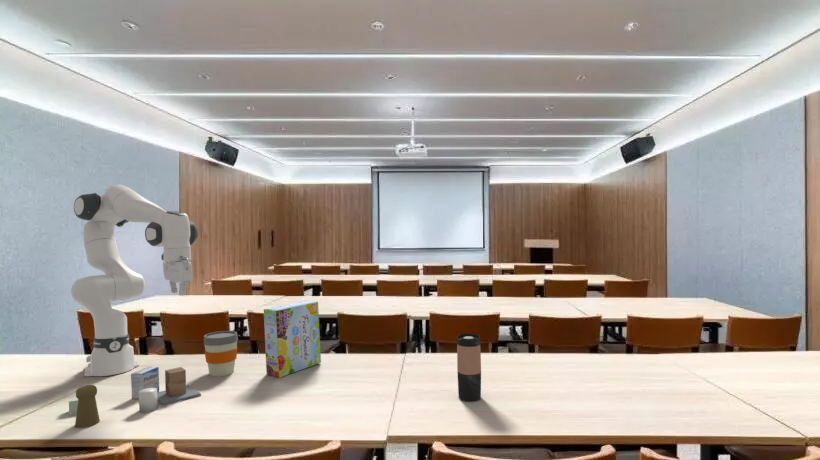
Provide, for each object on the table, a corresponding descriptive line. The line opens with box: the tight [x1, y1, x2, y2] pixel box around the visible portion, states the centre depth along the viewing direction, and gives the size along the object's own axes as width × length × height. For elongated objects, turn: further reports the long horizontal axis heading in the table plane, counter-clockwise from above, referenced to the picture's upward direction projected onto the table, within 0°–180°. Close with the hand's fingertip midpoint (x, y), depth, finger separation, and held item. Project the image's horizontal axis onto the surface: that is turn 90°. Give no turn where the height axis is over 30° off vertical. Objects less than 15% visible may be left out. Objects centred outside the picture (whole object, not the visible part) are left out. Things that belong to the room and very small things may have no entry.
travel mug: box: [456, 333, 482, 403], centre depth 152 cm, size 8×8×20 cm
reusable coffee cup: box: [203, 330, 239, 377], centre depth 184 cm, size 13×13×15 cm
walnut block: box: [164, 366, 187, 397], centre depth 159 cm, size 5×5×8 cm
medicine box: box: [130, 366, 160, 400], centre depth 161 cm, size 8×4×9 cm, turn 169°
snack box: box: [263, 300, 322, 379], centre depth 186 cm, size 22×9×26 cm, turn 144°
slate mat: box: [157, 384, 202, 406], centre depth 159 cm, size 12×12×1 cm
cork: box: [74, 384, 101, 429], centre depth 138 cm, size 6×6×11 cm
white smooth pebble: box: [138, 388, 158, 414], centre depth 148 cm, size 5×5×6 cm
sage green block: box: [68, 396, 78, 415], centre depth 148 cm, size 4×6×4 cm, turn 114°
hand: (178, 293), depth 170 cm, fingers open, 8 cm apart
